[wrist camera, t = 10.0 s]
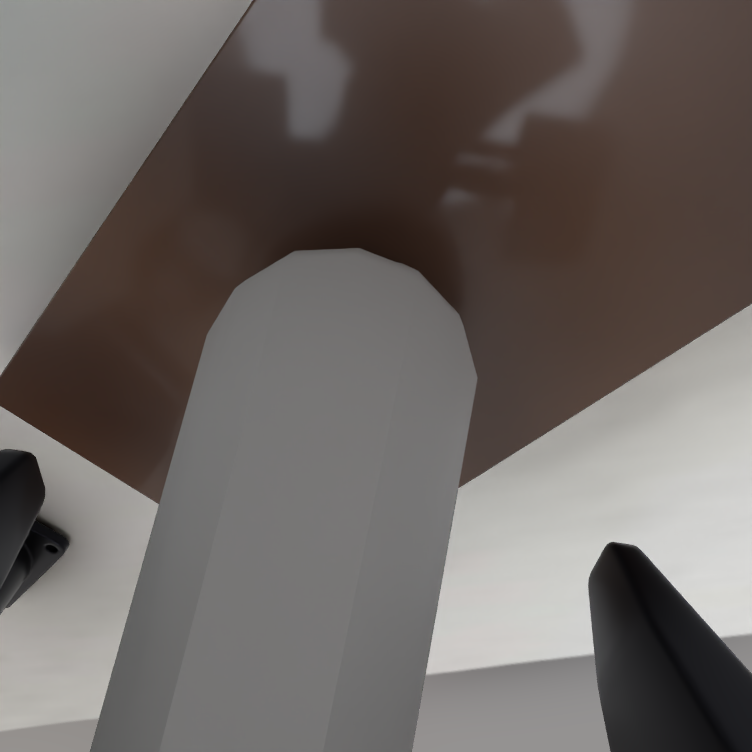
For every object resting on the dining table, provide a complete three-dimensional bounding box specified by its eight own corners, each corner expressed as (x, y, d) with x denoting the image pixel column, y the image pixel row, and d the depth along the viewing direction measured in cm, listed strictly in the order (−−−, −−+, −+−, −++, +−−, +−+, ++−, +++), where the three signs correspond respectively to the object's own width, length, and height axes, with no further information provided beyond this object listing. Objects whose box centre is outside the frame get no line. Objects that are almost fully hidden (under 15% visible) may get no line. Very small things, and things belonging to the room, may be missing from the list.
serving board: (306, 550, 22) (297, 590, 21) (21, 364, 18) (-15, 397, 17) (851, 184, 13) (903, 209, 12) (521, -357, 9) (538, -425, 8)
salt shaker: (262, 419, 16) (-80, 1268, 5) (214, 222, 13) (-863, 1314, 2) (470, 415, 15) (561, 1380, 5) (471, 206, 12) (759, 1679, 2)
